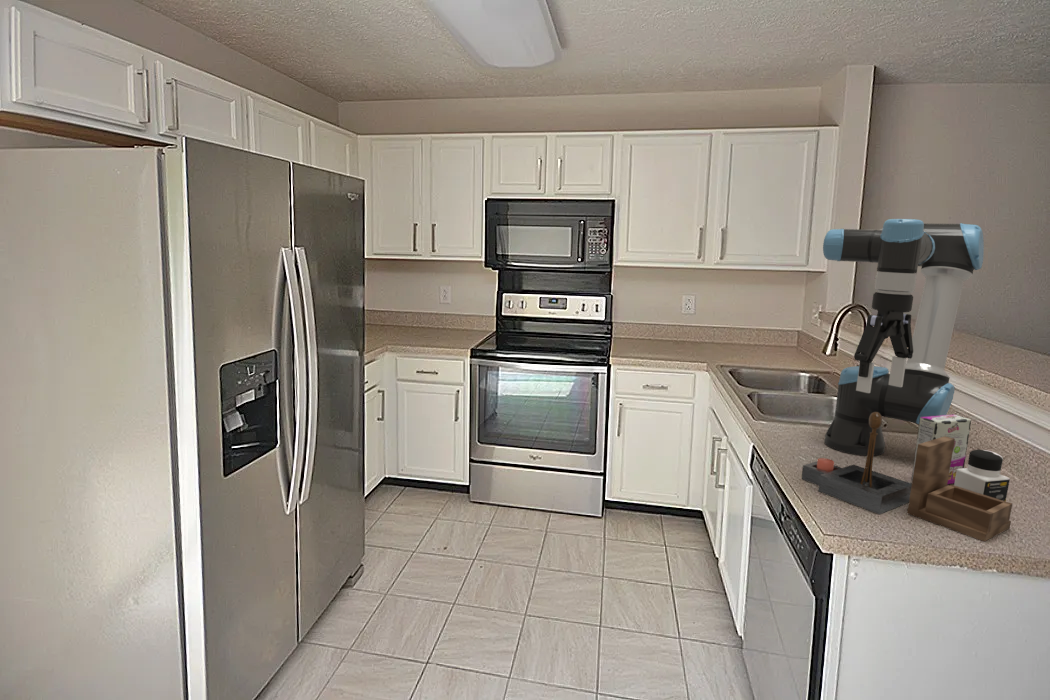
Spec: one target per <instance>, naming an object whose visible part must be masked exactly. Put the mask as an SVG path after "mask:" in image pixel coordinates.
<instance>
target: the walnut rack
mask: <svg viewBox="0 0 1050 700" xmlns="http://www.w3.org/2000/svg"><path fill="white" fill-rule="evenodd" d="M954 441H955V439H954V438H950V437H946V436H944V437H941V438H937V439H934V440H931V441H927V442H924V443H921V444H918V448H917V455H916V461H915V467H914V474H913V480H912V479H911V483H912V486H911V493H910V499H909V503H908V507H907V511H906V514H907V513H908V515H910V516H913V517H916V518H918V517H919V519H922V520H924V521H927V522H929V521H930V523H933V524H934V525H935V524H936V525H938V526H940V525H941V526H940V527H943V528H947V529H948V528H949V530H951V531H954V532H957V533H959V532H960V533H959V534H963V535H965V536H969V537H971V538H973V539H976V540H979V541H981V542H986V541H988V540H990V539H992V538H995V537H996V536H998V535H1000V534H1001V533H1003V532H1005V531H1007V530H1009V529H1010V528H1011V524H1012V523H1011V522H1012V521H1011V520H1010V519H1011V514H1012V508H1013V503H1011V502H1009V501H1007V500H1006V501H1002V500H999V499H996V498H993V497H990V496H986V495H983V494H980V493H977V492H974V491H970V490H967V489H964V488H961V487H958V486H954V485H947V483H948V477H949V471H950V465H951V459H952V453H953V447H954Z"/></svg>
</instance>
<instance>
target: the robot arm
mask: <svg viewBox="0 0 1050 700" xmlns="http://www.w3.org/2000/svg"><path fill="white" fill-rule="evenodd" d="M822 244H823V245H822V253H823V257H824V258H825V259H826V260H828V261H834V262H835V261H836V262H851V263H853V262H857V263H858V262H859V263H872V264H873V263H875V264H877V268H876V275H875V276H874V281H875V282H874V289H875V292H874V293H872V301H871V309H872V310H874V311H875V310H876V311H877V313H876V315H872V314H868V316H867V319H866V325H865V328H864V329H863V333H862V335H861V337H860V339H859V342H858V345H857V347H856V350H855V352H854V354H853V355H854V356H853V357H854V360H855V361H857V362H859V365H857V366H855V365H853V366H847V367H845V368H843V369H842V370H841V371H840V374H839V375H840V376H839V381H838V383H837V385H838V386H837V395H836V401H835V402H836V403H835V411H834V412H835V413H834V417H833V419H832V421H831V424H830V425H829V427H828V429H827V430H826V433H825V435H824V444H825V445H826V446H827V447H829V448H831V449H834V450H837V451H839V452H843V453H847V454H852V455H857V456H858V455H859V456H867V453H868V447H869V440H870V432H872V428H871V427H870V425H869V417H870V415H871V413H873V412H879V413H880V414H881V416H882V418H890V419H893V420H899V421H904V422H909V423H913V424H917V425H919V421H920V417H928V416H941V415H948V412H949V410H950V407H951V405H952V402H953V399H954V394H955V391H956V389H955V385H954V384H952V383H951V382H950V378H951V377H950V375H948V373H947V372H946V370H945V368H946V365H947V364H946V363H947V359H948V355H949V350H950V347H951V346H950V345H951V340H952V336H953V332H954V327H955V323H956V319H957V313H958V310H959V305H960V301H961V295H962V291H963V287H964V282H966V281H968V280H969V279H971V278H972V277H973V274H974V271H977V270H981V269H982V267H983V262H984V251H985V250H984V248H985V247H984V246H985V244H984V233H983V228H982V227H980V225H978V224H968V223H961V222H960V223H925V222H924V221H923V220H921V219H914V218H913V219H912V218H891V219H890V218H888V219H887V220H885V221H884V223H883V226H882V228H880V229H859V228H858V229H856V228H855V229H854V228H853V229H850V228H847V229H846V228H837V229H836V228H833V229H830V230H828V231H827V232H826V234H825V236H824V238H823V243H822ZM919 267H921V269H920V273H921V274H922V275H923V276H924V277H925V280H924V285H923V288H922V293H921V296H920V297H921V298H920V303H919V307H918V312H917V316H916V321H915V325H914V328H913V329H914V330H913V334H912V314H909V313H910V312H911V311H912V310H913V309H912V308H913V302H914V296H913V294H912V293H914V292H915V290H916V285H917V283H916V282H917V276H918V275H917V274H918V268H919ZM888 338H889V339H890V342H891V346H892V348H893V351H894V355H893V356H892V357H891V358H892V359H891V366H890V371H889V368H887V367H885V366H884V367H883V366H875V362H873V360H874V359H875V357H876V355H877V354H878V352H879V350H880V349H881V346H882V345H883V343H884V341H885V340H886V339H888ZM876 433H878V435H876V440H875V447H874V455H873V457H874V456H881V455H883V454H884V453H885V448H886V442H885V439H884V434H883V429H882V425H881V426H880V427H879V429H876Z"/></svg>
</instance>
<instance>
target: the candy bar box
mask: <svg viewBox="0 0 1050 700" xmlns="http://www.w3.org/2000/svg"><path fill="white" fill-rule="evenodd" d="M971 424H972V418H969V417H964V416H961V415H959V414H946V415H941V416H928V417H920V421H919V424H918V429H917V438H916V446H915V451H914V459H913V467H912V472H911V473H912V474H911V481H912V480H913V474H914V467H915V461H916V455H917V448H918V444H921V443H924V442H927V441H931V440H934V439H937V438H941V437H944V436H946V437H950V438H954V439H955V441H954V447H953V453H952V459H951V465H950V471H949V477H948V483H947V486H948V485H954V483H955V477H956V471H957V469H961V468H965V463H966V458H967V450H968V446H969V445H968V444H969V437H970V431H971Z"/></svg>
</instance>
